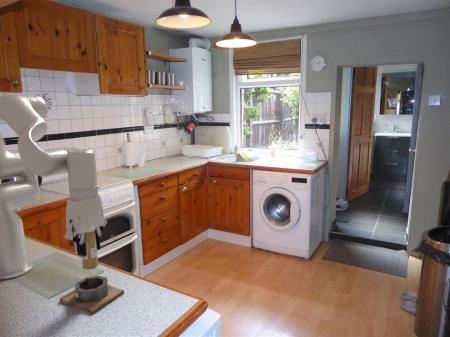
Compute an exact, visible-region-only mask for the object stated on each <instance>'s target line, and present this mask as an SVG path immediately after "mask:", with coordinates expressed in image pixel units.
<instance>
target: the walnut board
mask: <svg viewBox="0 0 450 337" xmlns="http://www.w3.org/2000/svg"><path fill="white" fill-rule="evenodd" d="M88 290H89V289H88ZM124 294H125V289H121V288H118V287H115V286H112V285H109V284H108V295H107V296H105V297H104V298H102V299H101V300H99V301H96V302H90V303H82V302H79V301H76V298H75V289H74V290H71V291H70V292H68V293H66V294H65V295H63V296H61V297H59V302H61V303H63V304H65V305H68V306H71V307H73V308H76V309H79V310H82V311H84V312H85V313H89V314H91V315H95V314H96V313H97V312H99V311H100V310H101V309H104V308H105V307H106V306H107V305H110V303H112V302H114V301H115V300H117V299H118V298H119V297H121V296H123V295H124Z"/></svg>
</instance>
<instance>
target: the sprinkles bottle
mask: <svg viewBox="0 0 450 337" xmlns="http://www.w3.org/2000/svg"><path fill="white" fill-rule="evenodd" d="M95 229H96V228H95V227H94V225H93V226H91V227H90V229H89V231H88V232H86V233H85V234H84V243H85V244H86V253H87V255H86V256H85V257H83V256H81V260H82V269H84V270H86V271H87V270H89V271H90V270H94V269H95V268H97V267H98V266H99V260H98V259H99V258H98V250H97V245H96V236H95Z"/></svg>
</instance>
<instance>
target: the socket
mask: <svg viewBox="0 0 450 337" xmlns="http://www.w3.org/2000/svg"><path fill="white" fill-rule="evenodd" d="M108 285H109V282H108V277H107V276H101V275H94V276H88V277H84V278H83V279H80V280H79V281H77V282H76V283H75V286H74V290H75V298H76V301H79V302H82V303H90V302H96V301H99V300H101V299H102V298H104V297H105V296H107V295H108ZM88 289H89V290H88Z"/></svg>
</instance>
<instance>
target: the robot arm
mask: <svg viewBox="0 0 450 337" xmlns="http://www.w3.org/2000/svg"><path fill="white" fill-rule="evenodd" d="M47 114H48V106H47V103H46V101H45V100H44V99H43V98H42V97H41V96H40V95H37V94H33V93H31V94H30V93H28V94H27V93H11V92H10V93H6V94H1V95H0V125H7V126H8V127H10V128H11V129H12V130H13V132H14V133H15V134H16V135H17V136H18V139H17V149H12V150H8V149H7V148H6V144H5V140H4V137H3V136H2V135H1V134H0V180H6V179H7V180H8V179H11V178H15V179H16V180H14V181H13V180H12V181H8V182H7V181H6V182H3V183H0V280H9V279H14V278H16V277H17V278H18V277H19V276H20V277H21V276H23V275H25V274H27V273H28V272H30V271H31V270H32V268H33V267H34V264H33V262H32V261H30V260H28V255H27V248H26V239H25V231H24V223H23V219H22V218H21V217H20V216H19V215H18V214H17V213H16V212H15V211H14V210H17V209H20V208H25V207H27V206H31V205H34V204H35V203H37V202H38V201H39V200H40V197H41V190H40V189H41V188H40V184H39V180H38V176H39V177H41V178H47V177H48V178H49V177H52V176H58V175H62V174H67V180H68V191H69V198H68V199H67V201H66V209H65V225H66V233H65V234H64V239H67V240H71V241H72V242H73V243H74V244H75V247H76V254H77V255H78V256H80V257H82V256H83V257H85V256H86V255H87V253H86V244H85V243H84V234H85V233H86V232H88V231H89V229H90V227H91V226H93V225H94V227H95V228H96V229H95V236H96V245H97V251H99V250H101V238H100V237H101V236H102V232H103V230H104V228H105V227H106V225H107V224H108V221H107V219H106V218H105V216H104V215H105V214H104V206H103V202H102V198H101V195H100V194H99V190H100V185H99V184H98V175H97V162H96V154H95V151H94V150H92V149H89V148H77V147H74V146H64V147H57V148H50V149H48V148H47V149H41V148H40V147H39V146H38V145H37V144H36V142H38V141H40V140H41V139H42V138H43V137H44V136H45V135H46V133H47V131H48V128H49V126H48V123H47V121H46V120H45V117H46V116H47Z"/></svg>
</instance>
